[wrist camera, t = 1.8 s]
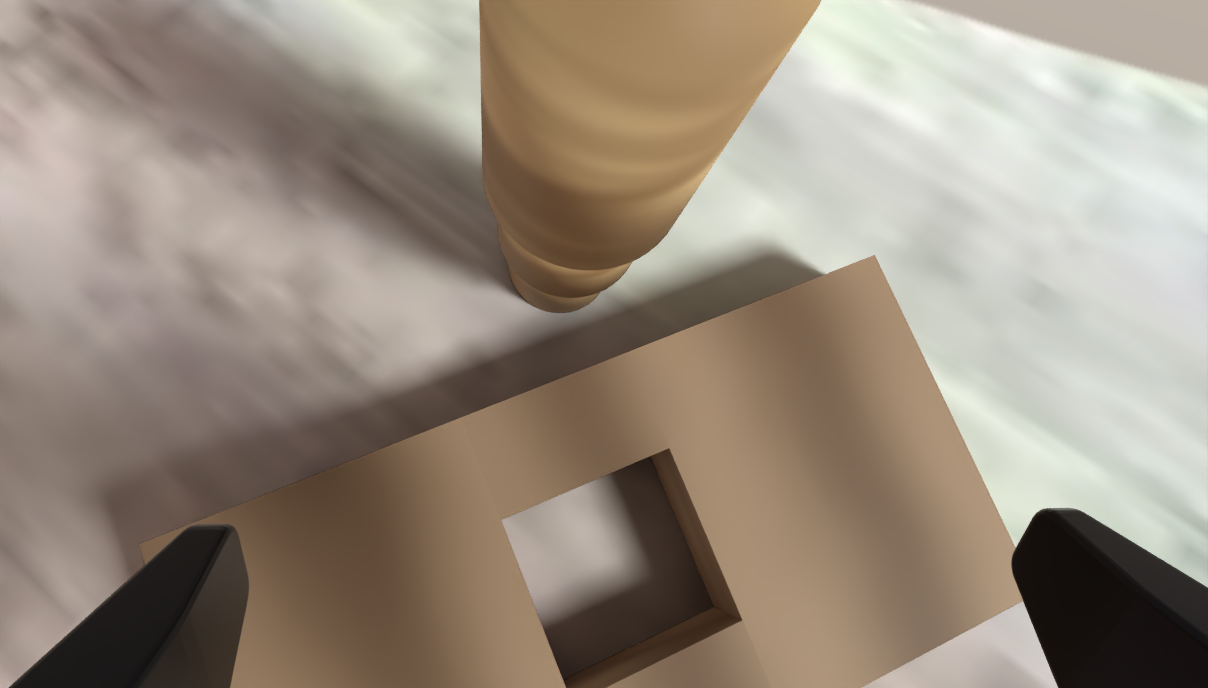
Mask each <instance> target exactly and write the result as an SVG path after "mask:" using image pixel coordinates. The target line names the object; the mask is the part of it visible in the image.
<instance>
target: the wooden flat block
mask: <svg viewBox="0 0 1208 688" xmlns="http://www.w3.org/2000/svg"><path fill="white" fill-rule="evenodd" d="M649 456H650V457H651V459H652V461H653V464H654V466H655V469H656V471H657V473H658V476H659V478H660V480H661V483H662V485H663V488H664V490H665V492H666V495H667V497H668V499H669V502H670V504H671V507H672V509H673V511H674V514H675V516H676V518H677V521H678V523H679V526H680V528H681V530H682V533H683V535H684V537H685V540H686V542H687V545H688V547H689V549H690V552H691V554H692V556H693V559H694V561H695V564H696V566H697V568H698V571H699V573H700V575H701V578H702V580H703V583H704V585H705V587H706V590H707V592H708V594H709V597H710V599H711V602H712V604H713V606H714V607H713V608H711V609H709V610H707V611H704V612H702V613H700V614H698V615H696V616H694V617H692V618H690V619H688V620H686V621H684V622H682V623H680V624H678V625H676V626H673V627H671V628H669V629H667V630H665V631H663V632H661V633H659V634H657V635H655V636H653V637H651V638H649V639H647V640H645V641H642V642H640V643H638V644H636V645H634V646H632V647H630V648H628V649H626V650H624V651H622V652H620V653H618V654H616V655H614V656H612V657H609V658H607V659H605V660H603V661H601V662H599V663H597V664H595V665H593V666H591V667H589V668H587V669H585V670H583V671H581V672H578V673H576V674H574V675H572V676H570V677H568V678H566V679H564V680H563V679H562V676H561V674H560V671H559V668H558V666H557V663H556V661H555V658H554V656H553V653H552V650H551V648H550V645H549V643H548V640H547V638H546V635H545V632H544V630H543V627H542V625H541V622H540V619H539V617H538V614H537V612H536V609H535V607H534V604H533V601H532V599H531V596H530V594H529V591H528V589H527V586H526V583H525V581H524V578H523V576H522V573H521V571H520V568H519V565H518V563H517V560H516V558H515V555H514V553H513V550H512V547H511V545H510V542H509V540H508V537H507V535H506V532H505V529H504V527H503V524H502V522H501V520H502V519H504V518H507V517H509V516H511V515H514V514H516V513H518V512H521V511H523V510H525V509H528V508H530V507H533V506H535V505H537V504H540V503H542V502H544V501H547V500H549V499H551V498H554V497H556V496H558V495H561V494H563V493H565V492H568V491H570V490H572V489H575V488H577V487H579V486H582V485H584V484H586V483H589V482H591V481H593V480H596V479H598V478H600V477H603V476H605V475H607V474H610V473H612V472H614V471H617V470H619V469H621V468H624V467H626V466H628V465H631V464H633V463H635V462H638V461H640V460H642V459H645V458H647V457H649ZM195 524H230V525H233V526H234V527H235V528H236V530H237V532H238V535H239V539H240V543H241V548H242V552H243V556H244V560H245V564H246V568H247V573H248V578H249V595H248V602H247V607H246V612H245V617H244V621H243V626H242V631H241V636H240V641H239V646H238V651H237V656H236V661H235V666H234V671H233V676H232V681H231V686H230V688H861V687H863V686H865V685H867V684H869V683H871V682H872V681H874V680H876V679H878V678H880V677H882V676H884V675H886V674H887V673H889V672H891V671H893V670H895V669H897V668H899V667H900V666H902V665H904V664H906V663H908V662H910V661H912V660H914V659H915V658H917V657H919V656H921V655H923V654H925V653H927V652H929V651H930V650H932V649H934V648H936V647H938V646H940V645H942V644H943V643H945V642H947V641H949V640H951V639H953V638H955V637H957V636H958V635H960V634H962V633H964V632H966V631H968V630H970V629H972V628H973V627H975V626H977V625H979V624H981V623H983V622H985V621H987V620H988V619H990V618H992V617H994V616H996V615H998V614H1000V613H1001V612H1003V611H1005V610H1007V609H1009V608H1011V607H1013V606H1015V605H1016V604H1018V603H1020V602H1022V601H1023V599H1022V597H1021V594H1020V592H1019V589H1018V587H1017V584H1016V582H1015V579H1014V577H1013V573H1012V568H1011V560H1012V555H1013V552H1014V550H1015V549H1016V548H1015V546H1014V544H1013V542H1012V540H1011V538H1010V535H1009V533H1008V531H1007V529H1006V527H1005V525H1004V523H1003V521H1002V519H1001V517H1000V515H999V513H998V510H997V508H996V506H995V504H994V502H993V500H992V498H991V496H990V494H989V492H988V490H987V488H986V486H985V483H984V481H983V479H982V477H981V475H980V473H979V471H978V469H977V467H976V465H975V463H974V461H973V458H972V456H971V454H970V452H969V450H968V448H967V446H966V444H965V442H964V440H963V438H962V436H961V434H960V431H959V429H958V427H957V425H956V423H955V421H954V419H953V417H952V415H951V413H950V411H949V409H948V407H947V404H946V402H945V400H944V398H943V396H942V394H941V392H940V390H939V388H938V386H937V384H936V382H935V379H934V377H933V375H932V373H931V371H930V369H929V367H928V365H927V363H926V361H925V359H924V357H923V355H922V352H921V350H920V348H919V346H918V344H917V342H916V340H915V338H914V336H913V334H912V332H911V330H910V327H909V325H908V323H907V321H906V319H905V317H904V315H903V313H902V311H901V309H900V307H899V305H898V303H897V300H896V298H895V296H894V294H893V292H892V290H891V288H890V286H889V284H888V282H887V280H886V278H885V275H884V273H883V271H882V269H881V267H880V265H879V263H878V261H877V259H876V257H875V255H873V256H871V257H868V258H866V259H863V260H861V261H858V262H856V263H853V264H850V265H848V266H845V267H843V268H840V269H838V270H835V271H833V272H830V273H828V274H825V275H822V276H820V277H817V278H815V279H812V280H810V281H807V282H805V283H802V284H800V285H797V286H794V287H792V288H789V289H787V290H784V291H782V292H779V293H777V294H774V295H772V296H769V297H766V298H764V299H761V300H759V301H756V302H754V303H751V304H749V305H746V306H744V307H741V308H738V309H736V310H733V311H731V312H728V313H726V314H723V315H721V316H718V317H716V318H713V319H710V320H708V321H705V322H703V323H700V324H698V325H695V326H693V327H690V328H688V329H685V330H682V331H680V332H677V333H675V334H672V335H670V336H667V337H665V338H662V339H660V340H657V341H654V342H652V343H649V344H647V345H644V346H642V347H639V348H637V349H634V350H632V351H629V352H626V353H624V354H621V355H619V356H616V357H614V358H611V359H609V360H606V361H604V362H601V363H598V364H596V365H593V366H591V367H588V368H586V369H583V370H581V371H578V372H575V373H573V374H570V375H568V376H565V377H563V378H560V379H558V380H555V381H553V382H550V383H547V384H545V385H542V386H540V387H537V388H535V389H532V390H530V391H527V392H525V393H522V394H519V395H517V396H514V397H512V398H509V399H507V400H504V401H502V402H499V403H497V404H494V405H491V406H489V407H486V408H484V409H481V410H479V411H476V412H474V413H471V414H469V415H466V416H463V417H461V418H458V419H456V420H453V421H451V422H448V423H446V424H443V425H441V426H438V427H435V428H433V429H430V430H428V431H425V432H423V433H420V434H418V435H415V436H413V437H410V438H407V439H405V440H402V441H400V442H397V443H395V444H392V445H390V446H387V447H385V448H382V449H379V450H377V451H374V452H372V453H369V454H367V455H364V456H362V457H359V458H357V459H354V460H351V461H349V462H346V463H344V464H341V465H339V466H336V467H334V468H331V469H329V470H326V471H323V472H321V473H318V474H316V475H313V476H311V477H308V478H306V479H303V480H301V481H298V482H295V483H293V484H290V485H288V486H285V487H283V488H280V489H278V490H275V491H273V492H270V493H267V494H265V495H262V496H260V497H257V498H255V499H252V500H250V501H247V502H245V503H242V504H239V505H237V506H234V507H232V508H229V509H227V510H224V511H222V512H219V513H217V514H214V515H211V516H209V517H206V518H204V519H201V520H199V521H196V522H194V523H191V524H189V525H186V526H183V527H181V528H178V529H176V530H173V531H171V532H168V533H166V534H163V535H161V536H158V537H155V538H153V539H150V540H148V541H145V542H143V543H140V544H139V547H140V551H141V554H142V557H143V560H144V563H145V564H146V563H147V562H149V561H150V560H151V559H152V558H153V557H154V556H155V555H156V554H157V553H159V552H160V551H161V550H162V549H163V548H164V547H165V546H166V545H167V544H169V543H170V542H171V541H172V540H173V539H174V538H175V537H176V536H177V535H178V534H180V533H181V532H182V531H183V530H184V529H186V528H188V527H189V526H191V525H195Z"/></svg>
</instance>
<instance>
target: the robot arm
mask: <svg viewBox="0 0 1208 688" xmlns="http://www.w3.org/2000/svg"><path fill="white" fill-rule="evenodd" d="M1011 568H1012V573H1013V577H1014V579H1015V582H1016V584H1017V587H1018V589H1019V592H1020V594H1021V597H1022V599H1023V602H1024V604H1025V607H1026V609H1027V612H1028V614H1029V617H1030V619H1031V622H1032V624H1033V627H1034V629H1035V632H1036V634H1037V637H1038V639H1039V642H1040V644H1041V647H1042V649H1043V651H1044V654H1045V656H1046V659H1047V661H1048V664H1049V666H1050V669H1051V671H1052V674H1053V676H1054V679H1055V681H1056V683H1057V686H1058V688H1208V587H1206V586H1204V585H1203V584H1201V583H1199V582H1198V581H1196V580H1194V579H1193V578H1191V577H1189V576H1188V575H1186V574H1184V573H1183V572H1181V571H1180V570H1178V569H1176V568H1175V567H1173V566H1171V565H1170V564H1168V563H1166V562H1165V561H1163V560H1161V559H1160V558H1158V557H1156V556H1155V555H1153V554H1151V553H1150V552H1148V551H1147V550H1145V549H1143V548H1142V547H1140V546H1138V545H1137V544H1135V543H1133V542H1132V541H1130V540H1128V539H1127V538H1125V537H1123V536H1122V535H1120V534H1119V533H1117V532H1115V531H1114V530H1112V529H1110V528H1109V527H1107V526H1105V525H1104V524H1102V523H1100V522H1099V521H1097V520H1095V519H1094V518H1092V517H1090V516H1089V515H1087V514H1086V513H1084V512H1082V511H1080V510H1077V509H1073V508H1046V509H1042V510H1040V511H1039V512H1037V513H1036V514H1035V515H1034V517H1033V518H1032V520H1031V522H1030V524H1029V526H1028V527H1027V529H1026V531H1025V533H1024V534H1023V536H1022V538H1021V540H1020V542H1019V543H1018V545H1017V547H1016V549H1015V550H1014V552H1013V555H1012V560H1011ZM248 595H249V578H248V573H247V568H246V564H245V560H244V556H243V552H242V548H241V543H240V539H239V535H238V532H237V530H236V528H235V527H234V526H233V525H230V524H195V525H191V526H189V527H188V528H186V529H184V530H183V531H182V532H181V533H180V534H178V535H177V536H176V537H175V538H174V539H173V540H172V541H171V542H170V543H169V544H167V545H166V546H165V547H164V548H163V549H162V550H161V551H160V552H159V553H157V554H156V555H155V556H154V557H153V558H152V559H151V560H150V561H149V562H147V563H146V564H145V565H144V566H143V567H142V568H141V569H140V570H139V571H137V572H136V573H135V574H134V575H133V576H132V577H131V578H130V579H129V580H127V581H126V582H125V583H124V584H123V585H122V586H121V587H120V588H119V589H117V590H116V591H115V592H114V593H113V594H112V595H111V596H110V597H109V598H107V599H106V600H105V601H104V602H103V603H102V604H101V605H100V606H99V607H98V608H96V609H95V610H94V611H93V612H92V613H91V614H90V615H89V616H88V617H86V618H85V619H84V620H83V621H82V622H81V623H80V624H79V625H78V626H76V627H75V628H74V629H73V630H72V631H71V632H70V633H69V634H68V635H66V636H65V637H64V638H63V639H62V640H61V641H60V642H59V643H58V644H56V645H55V646H54V647H53V648H52V649H51V650H50V651H49V652H48V653H46V654H45V655H44V656H43V657H42V658H41V659H40V660H39V661H38V662H36V663H35V664H34V665H33V666H32V667H31V668H30V669H29V670H28V671H27V672H25V673H24V674H23V675H22V676H21V677H20V678H19V679H18V680H17V681H15V682H14V683H13V684H12V685H11V686H10V687H9V688H230V686H231V681H232V676H233V671H234V666H235V661H236V656H237V651H238V646H239V641H240V636H241V631H242V626H243V621H244V617H245V612H246V607H247V602H248Z"/></svg>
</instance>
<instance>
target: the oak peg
mask: <svg viewBox="0 0 1208 688" xmlns="http://www.w3.org/2000/svg"><path fill="white" fill-rule="evenodd" d="M820 2H821V0H479V8H480V62H481V117H482V169H483V183H484V188H485V193H486V196H487V199H488V202H489V205H490V207H491V209H492V211H493V213H494V215H495V217H496V219H497V231H498V239H499V244H500V247H501V250H502V253H503V255H504V257H505V259H506V261H507V263H508V269H509V274H510V278H511V281H512V283H513V285H514V287H515V288H516V290H517V291H518V293H519V294H520V295H521V296H522V297H523V298H524V299H525V300H526V301H527V302H528V303H530V304H531V305H533V306H535V307H537V308H539V309H541V310H544V311H548V312H553V313H567V312H572V311H576V310H579V309H581V308H583V307H585V306H586V305H588V304H590V303H591V302H592V301H593V300H594V299H595V298H596V297H597V296H598V295H599V293H600V292H601V291H603V290H605V289H607V288H608V287H610V286H611V285H613V284H614V283H615V282H616V281H618V280H619V279H620V278H621V277H622V276H623V275H624V273H625V272H626V271H627V269H628V268H629V266H630V265H631V263H632V262H633V261H634V260H636V259H638V258H640V257H641V256H643V255H645V254H646V253H648V252H649V251H650V250H652V249H653V248H654V247H655V246H656V245H658V244H659V242H660V241H661V240H662V239H663V238H664V237H665V236H666V235H667V233H668V232H669V230H670V229H671V227H672V226H673V224H674V223H675V221H676V220H677V218H678V217H679V215H680V214H681V212H682V211H683V209H684V208H685V206H686V205H687V203H688V202H689V200H690V199H691V197H692V196H693V194H694V193H695V191H696V190H697V188H698V187H699V185H700V184H701V182H702V181H703V179H704V178H705V176H706V175H707V173H708V172H709V170H710V169H711V167H712V166H713V164H714V163H715V161H716V160H717V158H718V157H719V155H720V154H721V152H722V151H723V149H724V148H725V146H726V145H727V143H728V142H729V140H730V139H731V137H732V136H733V134H734V133H735V131H736V129H737V128H738V126H739V125H740V123H741V122H742V120H743V119H744V117H745V116H746V114H747V113H748V111H749V110H750V108H751V107H752V105H753V104H754V102H755V101H756V99H757V98H758V96H759V95H760V93H761V92H762V90H763V89H764V87H765V86H766V84H767V83H768V81H769V80H770V78H771V77H772V75H773V74H774V72H775V71H776V69H777V68H778V66H779V65H780V63H781V62H782V60H783V59H784V57H785V56H786V54H787V53H788V51H789V50H790V48H791V47H792V45H793V44H794V42H795V41H796V39H797V38H798V36H799V35H800V33H801V32H802V30H803V29H804V27H805V26H806V24H807V23H808V21H809V20H810V18H811V17H812V15H813V14H814V12H815V11H816V9H817V7H818V6H819V4H820Z"/></svg>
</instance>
